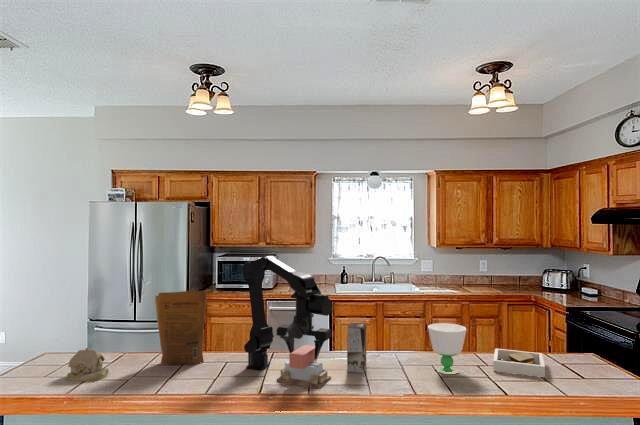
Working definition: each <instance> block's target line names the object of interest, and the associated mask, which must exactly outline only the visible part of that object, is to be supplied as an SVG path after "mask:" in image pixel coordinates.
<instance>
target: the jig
mask: <svg viewBox="0 0 640 425" xmlns="http://www.w3.org/2000/svg"><path fill="white" fill-rule="evenodd" d="M331 378H332V376H331V375H328V370H326V368H323V373H321V374H320V375H319V381H318V376H317V375H310V381H304V380H298V379H291V378H290V371H285V366H284V367H283V368H281V369H280V376H279V377H277V378H276V382H278V383H284V384H290V385H296V386H304V387H310V388H315V389H320V388H322V387H323V386H324V385H325V384H326V383H327V382H329V381H330V380H331Z"/></svg>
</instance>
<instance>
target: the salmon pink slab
mask: <svg viewBox="0 0 640 425" xmlns="http://www.w3.org/2000/svg"><path fill="white" fill-rule="evenodd" d="M288 354H289V355H288V356H289V359H288V361H289V367H291V368H297V369H304V368H305V367H307V366H308V365H310V364H311V363H312V362H316V361H317V360H318V358H317V359H315V345H309V344H303V345H301V346H300V347H298V348H296V349H294V351H293V352H292V353H290V352H289V353H288Z"/></svg>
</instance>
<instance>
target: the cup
mask: <svg viewBox="0 0 640 425" xmlns="http://www.w3.org/2000/svg"><path fill="white" fill-rule="evenodd" d="M427 329H428V334H429V339H430V344H431V347H432V351H434V353H436V354H438V355H440V356H442V357H441V358H440V364H441V366H444V368H441V369H440V370H442V371H445V372H452V371H454V370H453V369H451V368H450V367H453V365H454V359H453V357H454V356H458V355H460V354H461V353H462V351H463V348H464V343H465V338H466V333H467V327H465V326H464V325H460V324H456V323H449V322H448V323H447V322H446V323H444V322H438V323H431V324H429V325H427Z"/></svg>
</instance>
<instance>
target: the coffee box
mask: <svg viewBox="0 0 640 425" xmlns="http://www.w3.org/2000/svg"><path fill="white" fill-rule="evenodd" d="M346 329H347V331H346V332H347V334H346V335H347V338H346V339H347V340H346V341H347V342H346V351H347V352H346V353H347V354H346V358H347V359H346V361H347V362H346V363H347V364H346V372H347V373H359V374H364V373H365V369H366V367H367V323H366V322H349V324H348V326H347V328H346Z"/></svg>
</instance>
